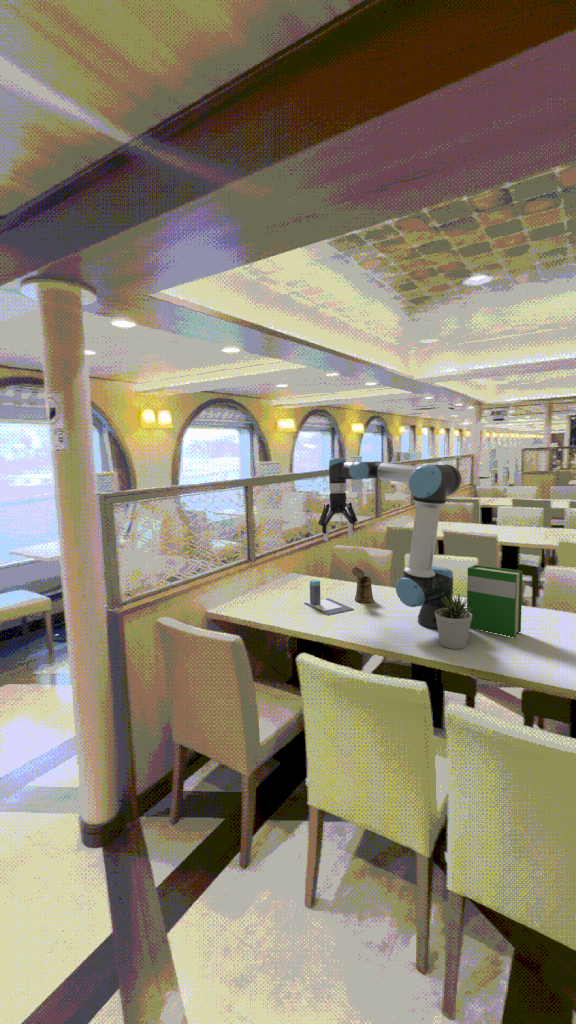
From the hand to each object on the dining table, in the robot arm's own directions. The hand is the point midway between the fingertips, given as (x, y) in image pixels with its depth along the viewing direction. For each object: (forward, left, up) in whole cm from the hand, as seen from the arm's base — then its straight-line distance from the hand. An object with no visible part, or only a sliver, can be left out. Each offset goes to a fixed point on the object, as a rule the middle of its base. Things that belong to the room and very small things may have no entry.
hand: (338, 539), depth 207 cm
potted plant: (-59, -7, -32) cm, 67 cm away
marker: (+7, +9, -31) cm, 33 cm away
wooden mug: (0, -13, -32) cm, 34 cm away
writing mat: (+2, +5, -31) cm, 32 cm away
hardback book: (-57, -32, -32) cm, 73 cm away
